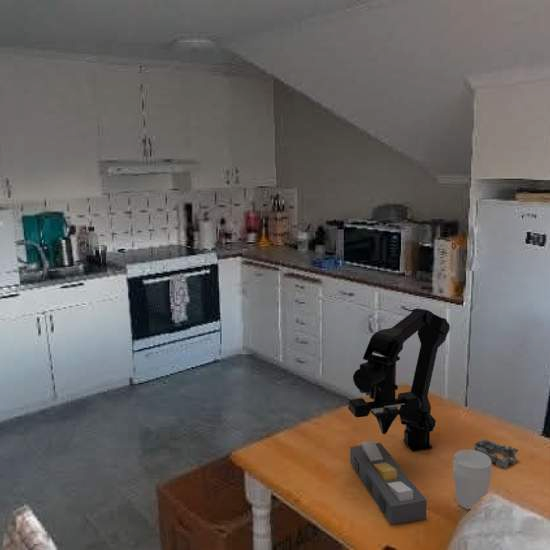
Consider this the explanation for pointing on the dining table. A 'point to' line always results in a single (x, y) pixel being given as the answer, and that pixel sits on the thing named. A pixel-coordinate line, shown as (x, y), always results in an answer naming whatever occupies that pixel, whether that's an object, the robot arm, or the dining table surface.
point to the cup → (471, 476)
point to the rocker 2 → (385, 471)
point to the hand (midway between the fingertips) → (383, 433)
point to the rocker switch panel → (381, 492)
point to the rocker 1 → (371, 451)
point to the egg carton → (497, 448)
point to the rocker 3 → (400, 491)
